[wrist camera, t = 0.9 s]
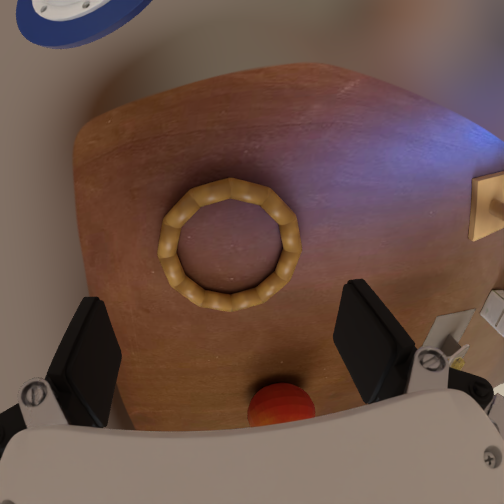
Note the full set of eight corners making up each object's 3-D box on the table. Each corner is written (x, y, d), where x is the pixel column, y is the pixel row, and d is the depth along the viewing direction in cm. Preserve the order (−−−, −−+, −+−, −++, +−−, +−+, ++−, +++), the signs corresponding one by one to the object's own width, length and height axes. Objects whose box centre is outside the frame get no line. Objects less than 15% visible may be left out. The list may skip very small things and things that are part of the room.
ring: (140, 203, 25) (135, 209, 24) (283, 161, 25) (288, 165, 24) (187, 316, 31) (187, 326, 30) (306, 283, 32) (311, 292, 30)
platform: (397, 388, 47) (411, 412, 41) (436, 316, 39) (459, 341, 33) (437, 375, 49) (452, 395, 43) (475, 308, 41) (496, 328, 35)
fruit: (319, 381, 40) (339, 434, 32) (278, 413, 43) (290, 462, 34) (273, 364, 37) (290, 425, 28) (231, 399, 39) (239, 456, 31)
